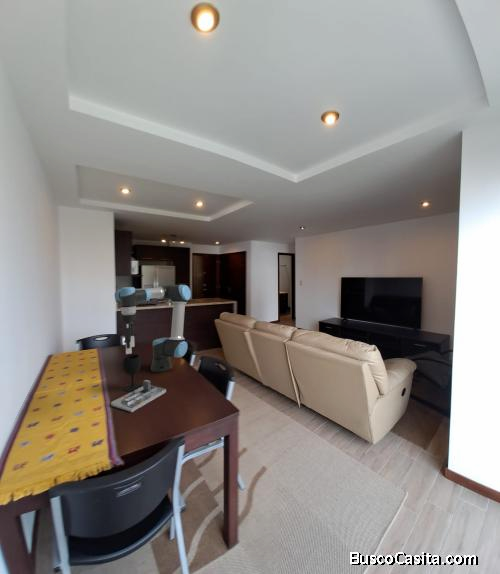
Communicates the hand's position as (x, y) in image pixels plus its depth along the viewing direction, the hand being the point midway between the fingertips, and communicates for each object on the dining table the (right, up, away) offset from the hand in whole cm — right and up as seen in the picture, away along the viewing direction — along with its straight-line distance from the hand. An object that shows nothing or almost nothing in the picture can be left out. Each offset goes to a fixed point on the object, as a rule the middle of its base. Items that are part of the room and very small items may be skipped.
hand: (130, 350), depth 140 cm
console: (+6, -28, -1) cm, 28 cm away
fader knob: (+8, -25, +3) cm, 27 cm away
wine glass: (-5, -28, +13) cm, 31 cm away
